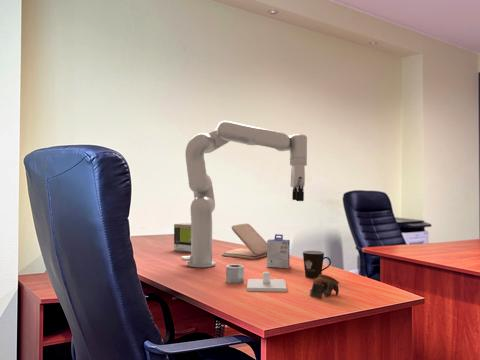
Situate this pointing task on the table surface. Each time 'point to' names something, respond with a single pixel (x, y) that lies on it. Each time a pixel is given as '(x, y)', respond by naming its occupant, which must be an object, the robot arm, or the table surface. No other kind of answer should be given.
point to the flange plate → (266, 284)
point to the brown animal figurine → (324, 286)
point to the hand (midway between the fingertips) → (297, 200)
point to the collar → (234, 274)
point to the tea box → (182, 237)
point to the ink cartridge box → (278, 252)
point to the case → (248, 243)
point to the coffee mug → (314, 263)
